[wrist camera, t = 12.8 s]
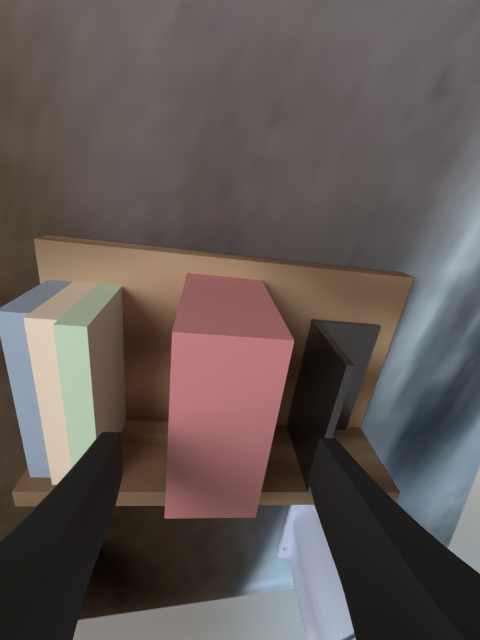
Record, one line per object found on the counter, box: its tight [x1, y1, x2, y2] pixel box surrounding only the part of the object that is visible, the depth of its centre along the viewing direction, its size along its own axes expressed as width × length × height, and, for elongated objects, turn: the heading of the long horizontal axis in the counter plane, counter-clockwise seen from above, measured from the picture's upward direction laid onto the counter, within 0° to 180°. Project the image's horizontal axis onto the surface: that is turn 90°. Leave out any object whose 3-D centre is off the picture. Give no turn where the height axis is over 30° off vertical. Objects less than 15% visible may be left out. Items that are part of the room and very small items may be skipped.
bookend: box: [286, 319, 381, 492], centre depth 17 cm, size 8×4×5 cm, turn 173°
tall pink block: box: [165, 273, 294, 518], centre depth 15 cm, size 9×4×7 cm, turn 173°
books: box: [0, 280, 126, 485], centre depth 15 cm, size 9×4×5 cm, turn 173°
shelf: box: [12, 235, 414, 506], centre depth 17 cm, size 12×20×6 cm, turn 83°
